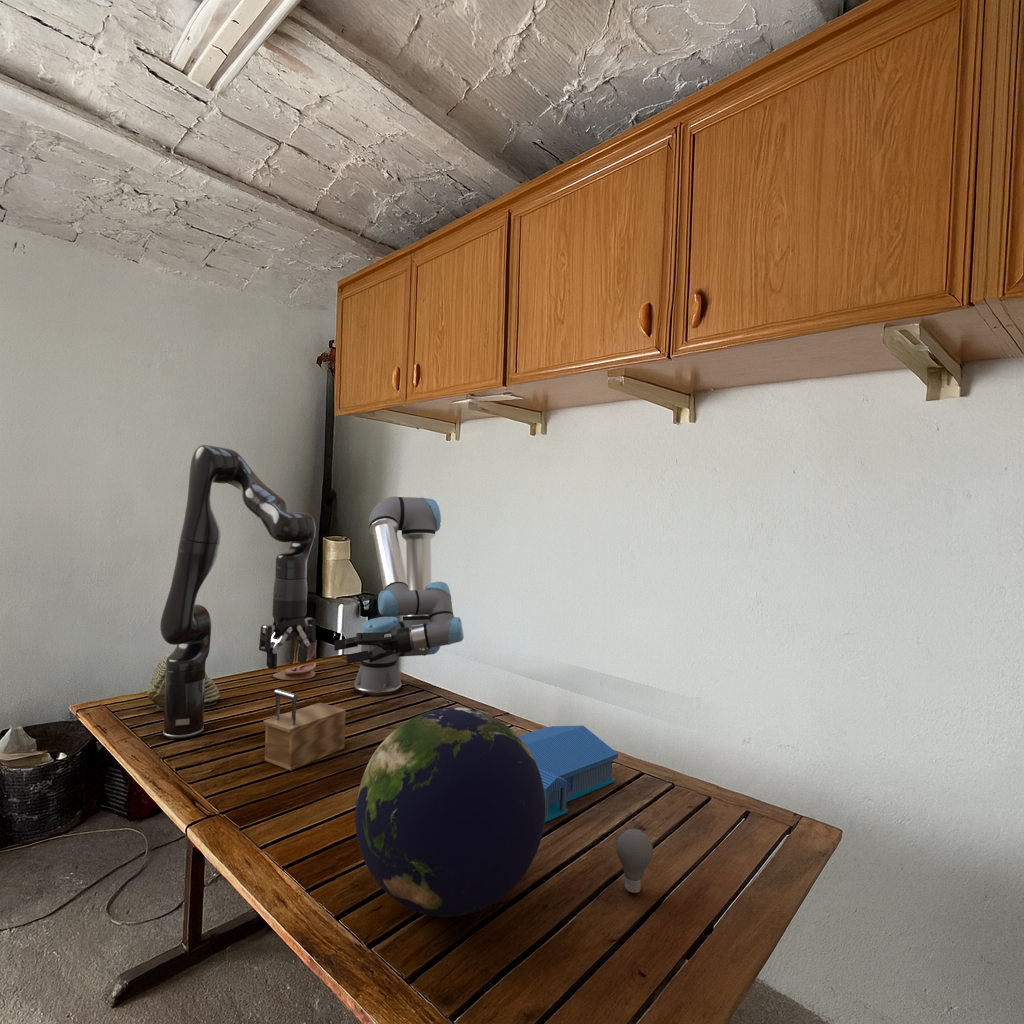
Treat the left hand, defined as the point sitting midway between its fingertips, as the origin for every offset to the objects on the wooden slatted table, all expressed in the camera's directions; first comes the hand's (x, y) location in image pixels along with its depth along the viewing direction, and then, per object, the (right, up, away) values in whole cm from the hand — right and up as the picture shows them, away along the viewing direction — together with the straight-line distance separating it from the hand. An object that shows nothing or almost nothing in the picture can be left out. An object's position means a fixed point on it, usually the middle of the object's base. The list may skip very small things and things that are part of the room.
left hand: (287, 665), depth 149 cm
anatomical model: (-23, -21, +71) cm, 77 cm away
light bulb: (+73, -27, -44) cm, 89 cm away
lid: (+2, -14, +5) cm, 15 cm away
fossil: (-43, -21, +36) cm, 60 cm away
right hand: (+2, -6, +39) cm, 40 cm away
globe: (+43, -26, -48) cm, 69 cm away
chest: (+2, -23, +6) cm, 24 cm away
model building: (+56, -26, -9) cm, 63 cm away
